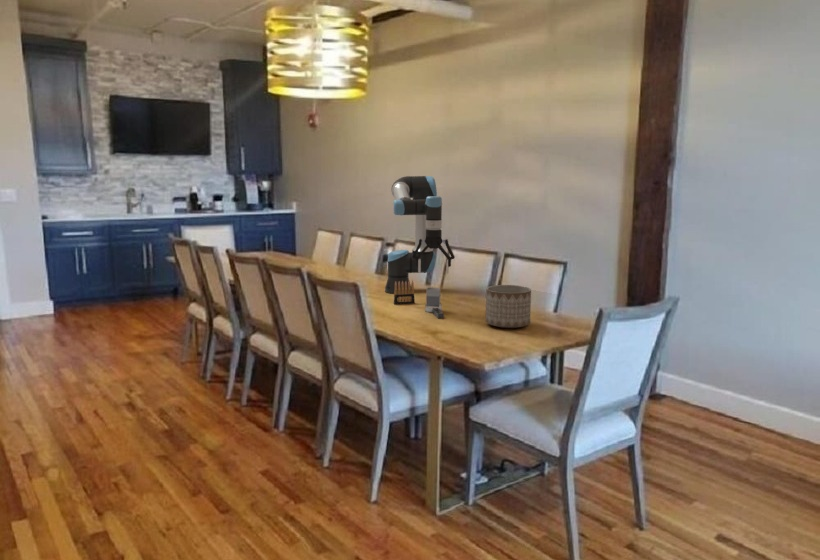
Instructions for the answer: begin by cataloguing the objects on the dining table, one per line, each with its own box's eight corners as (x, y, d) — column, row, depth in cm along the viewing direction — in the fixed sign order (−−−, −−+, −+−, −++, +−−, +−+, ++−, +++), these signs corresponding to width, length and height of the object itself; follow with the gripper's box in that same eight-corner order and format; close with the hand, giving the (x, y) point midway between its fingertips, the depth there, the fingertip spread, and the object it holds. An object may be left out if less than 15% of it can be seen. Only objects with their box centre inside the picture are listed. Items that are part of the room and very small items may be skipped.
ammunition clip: (413, 302, 320) (413, 280, 318) (414, 303, 318) (414, 280, 316) (393, 303, 317) (393, 281, 315) (394, 304, 315) (394, 281, 313)
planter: (477, 322, 277) (478, 286, 274) (514, 318, 285) (515, 283, 282) (500, 332, 260) (501, 294, 257) (538, 328, 267) (540, 290, 264)
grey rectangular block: (428, 303, 303) (428, 287, 302) (440, 304, 302) (440, 288, 301) (426, 306, 297) (426, 290, 296) (438, 306, 296) (438, 290, 295)
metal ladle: (423, 309, 303) (423, 297, 302) (439, 309, 305) (439, 297, 304) (432, 319, 284) (432, 306, 283) (449, 318, 286) (449, 305, 284)
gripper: (406, 229, 292) (406, 273, 296) (459, 230, 288) (458, 275, 292) (409, 227, 299) (409, 271, 303) (460, 228, 295) (459, 272, 299)
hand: (433, 273), depth 297 cm, fingers open, 13 cm apart
